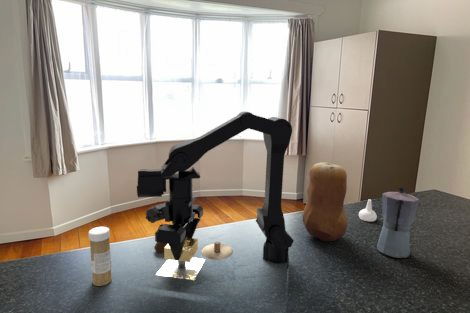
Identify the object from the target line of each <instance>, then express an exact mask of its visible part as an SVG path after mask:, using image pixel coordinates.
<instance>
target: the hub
mask: <svg viewBox="0 0 470 313" xmlns="http://www.w3.org/2000/svg"><path fill="white" fill-rule="evenodd" d="M205 262H206V259H205V258H200V257H193V258H192V259H191V261H190V262H185V261H177V260H169V259H166V260H165V262H164V264H163V265H162V266H161V267H160V268H159V270H158V271H157V272H156V274H155V276H161V277H168V278H175V279H182V280H190V281H195V280H196V277H197V276H198V275H199V272H200V270H201V269H202V268H203V264H204V263H205Z"/></svg>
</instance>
